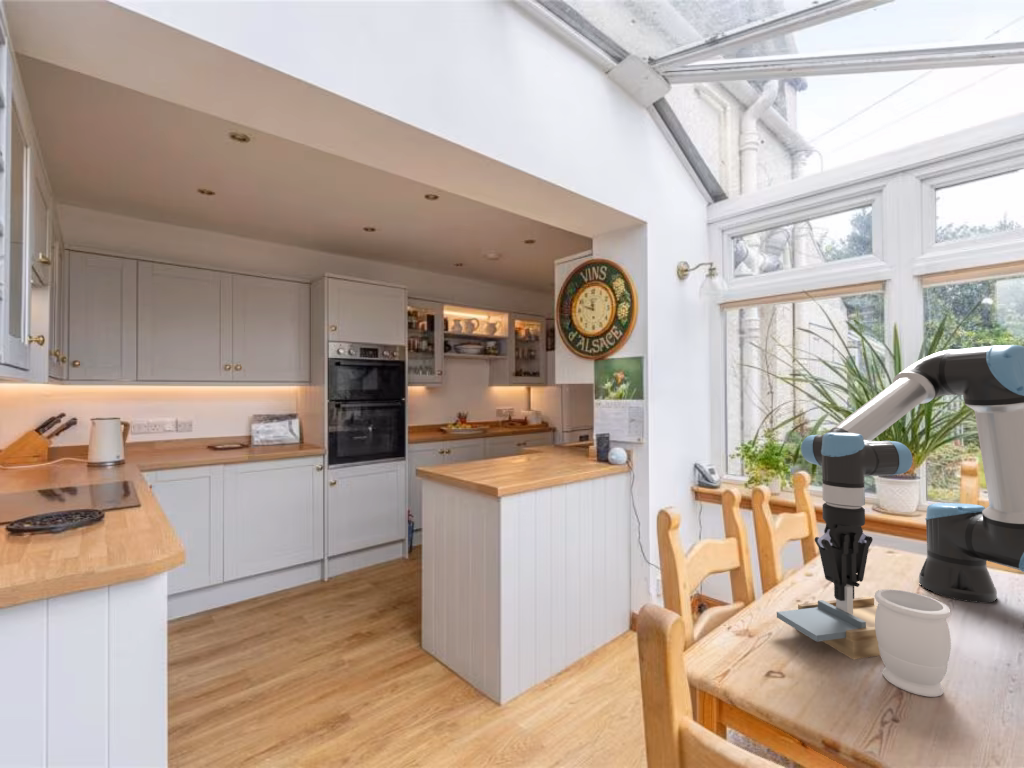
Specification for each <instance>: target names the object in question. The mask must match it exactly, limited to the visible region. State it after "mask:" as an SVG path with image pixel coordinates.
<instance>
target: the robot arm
mask: <svg viewBox="0 0 1024 768" xmlns="http://www.w3.org/2000/svg"><path fill="white" fill-rule="evenodd" d="M950 395H951V396H952V395H953V396H955V395H956V396H963V401H964V405H965V406H967V407H968V408H970V410H971V409H972V410H973V411H974V415H975V422H976V430H977V435H978V436H977V437H978V441H979V446H980V447H979V448H980V454H981V460H982V461H981V462H982V467H983V474H984V479H985V486H986V491H987V497H988V504H989V505H988V506H987V507H985V506H983V505H979V504H974V503H973V504H972V503H955V502H951V503H950V502H944V503H943V502H940V503H939V502H937V503H932V504H929V505H928V506H927V507H926V515H925V518H924V519H925V523H926V525H925V526H926V559H925V561H924V562H923V565H922V567H921V569H920V572H919V575H918V583H920V584H921V585H922V586H923V587H925V588H926V589H925V588H924V589H925V590H927V589H928V590H927V591H929V590H931V591H933V592H932V593H934V592H935V594H936V593H937V595H939V594H940V596H943V597H946V598H950V599H954V598H955V599H954V600H958V599H960V601H964V600H967V601H966V602H970V601H977V602H976V603H980V602H989V603H994V602H996V601H997V600H996V599H998V595H997V594H998V592H997V588H996V587H995V585H994V582H993V579H992V576H991V574H990V572H989V570H988V567H987V562H989V563H993V564H997V565H1000V566H1003V567H1007V568H1011V569H1014V570H1016V571H1017V570H1018V571H1021V572H1023V573H1024V346H1023V345H1019V344H1003V345H1002V344H998V345H997V344H995V345H987V346H976V347H966V348H953V349H952V348H951V349H945V350H941V351H936V352H934V353H932V354H930V355H927V356H925V357H923V358H921V359H919V360H917V361H916V362H914V363H912V364H910V365H909V366H907V367H906V368H904V369H903V370H901V371H900V372H899V373H897V374H896V375H895V376H894V378H893V379H892V383H891V384H890V385H888V386H887V387H885V388H884V389H883V390H882V391H880V392H879V393H877V394H876V395H875V396H874V397H872V398H871V399H870V400H868V401H867V402H865V403H864V404H863V405H861V406H860V407H858V409H856V410H855V411H853V412H852V413H851V414H850V415H848V416H846V417H845V418H844V419H843V420H841V421H840V422H839V423H837V424H836V425H835V426H833V427H832V428H831V429H829V430H828V431H826V433H824V434H822V435H821V434H811V435H808V436H806V437H805V438H804V439H803V441H802V442H801V446H800V453H801V455H802V458H804V460H805V461H806V462H808V463H810V464H813V465H817V466H819V467H821V468H822V471H821V474H822V475H821V476H822V479H821V480H822V501H823V502H824V503H822V519H823V521H824V522H825V528H824V530H823V533H824V534H823V535H821V536H819V537H818V536H815V537H814V543H815V544H816V545H817V547H818V552H819V557H820V559H821V566H822V568H823V569H822V570H823V573H824V577H825V580H826V581H829V582H830V583H833V586H834V587H833V591H834V593H833V596H834V598H835V600H836V607H837V608H839V609H841V610H843V611H845V612H847V613H849V614H851V615H853V599H854V598H855V587H856V588H858V587H860V584H861V583H862V582H863V580H864V578H865V577H864V576H865V572H866V565H867V561H868V554H869V549H870V546H871V544H872V542H873V537H872V536H869V535H867V534H865V533H864V530H863V526H864V525H865V524H866V511H865V508H864V507H865V505H866V495H865V493H866V491H865V477H879V476H880V477H881V476H889V477H892V476H897V475H903V474H905V473H907V472H908V471H909V470H910V469H911V467H912V465H913V454H912V452H911V450H910V449H909V447H907V445H905V444H904V443H902V442H900V441H894V440H892V441H891V440H881V441H880V440H875V438H877V437H878V436H879V435H881V434H882V433H884V432H885V431H886V430H887V429H889V428H890V427H892V425H894V424H895V423H896V422H897V421H899V420H900V419H902V418H903V417H904V416H906V414H907V415H908V413H910V412H911V411H912V410H913V409H915V408H916V407H917V406H919V405H920V404H923V405H924V404H928V403H929V402H931V401H933V400H934V399H936V398H938V397H942V396H950ZM858 582H861V583H858ZM920 584H919V585H920ZM921 585H920V586H921ZM922 586H921V587H922ZM923 587H922V588H923ZM931 591H930V592H931ZM995 600H996V601H995ZM993 601H994V602H993Z"/></svg>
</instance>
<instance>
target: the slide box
mask: <svg viewBox="0 0 1024 768" xmlns="http://www.w3.org/2000/svg"><path fill="white" fill-rule="evenodd" d="M824 601H825V602H827V603H829V604H831V605H833V606H835V607H836V599H834V600H824ZM877 606H878V605H876V604H875V597H873V596H861V597H854V599H853V616H855V617H857V618H859V619H861V620H863V621H865V622H866V628H860V629H852V630H846V638H841V639H833V640H825V641H822V642H823V643H825V644H826V645H828V646H829V647H831V648H833V649H835V650H836V651H838V652H840V653H841V654H843V655H845V657H846V656H847V657H848V658H850V659H851V660H858V659H860V660H861V659H864V658H865V659H866V658H873V657H874V658H875V657H879V656H880V657H881V655H880V652H879V647H878V641H877V637H876V631H875V615H876V609H877ZM815 607H818V601H817V602H816V601H815V602H808V603H800V604H797V610H798V609H807V608H815Z"/></svg>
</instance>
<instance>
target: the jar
mask: <svg viewBox="0 0 1024 768" xmlns="http://www.w3.org/2000/svg"><path fill="white" fill-rule="evenodd" d="M874 600H876V602H878V604H877V605H876V606H877V609H876V615H875V631H876V637H877V641H878V647H879V652H880V655H881V656H880V658H881V661H882V662H883V664H884V666H885V667H884V668H883V670H882V675H883V677H884V678H885V679H886V680H887V681H888V682H889V683H890V684H892V685H893V686H895V687H897V688H899V689H900V690H903V691H906V692H908V693H911V694H914V695H917V696H921V697H927V698H928V697H931V698H934V697H936V698H937V697H940V696H942V695H943V694H944V692H945V691H944V688H943V685H942V684H941V682H942V681H943V680H944V678H945V676H946V674H947V671H948V665H949V661H950V657H951V650H952V645H951V644H952V643H951V641H952V639H951V633H950V628H949V624H948V621H947V618H949V617H950V615H951V612H950V611H951V608H950V607H949V606H948V605H947V604H945V603H944V602H942V601H940V600H937V599H935V598H932V597H931V596H927V595H924V594H921V593H916V592H913V591H908V590H900V589H893V588H892V589H889V588H888V589H886V588H884V589H878V590H876V591H875V592H874Z"/></svg>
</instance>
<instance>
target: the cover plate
mask: <svg viewBox="0 0 1024 768" xmlns="http://www.w3.org/2000/svg"><path fill="white" fill-rule="evenodd" d="M825 601H826V600H823V599H819V600H818V599H817V602H818V607H815V608H807V609H798V608H797V609H790V610H783V611H782V610H781V611H776V618H777V619H778V620H780V621H781V622H784V623H785V624H787V625H788V626H790V627H792V628H794V629H795V630H797V631H798V632H799V633H802V634H804V635H805V636H807V637H808V638H810V639H811V640H813V641H815V642H816V643H818V642H823V641H825V640H833V639H841V638H846V630H852V629H860V628H866V622H865V621H863V620H861V619H859V618H857V617H855V616H853V615H851V614H849V613H847V612H845V611H843V610H841V609H839V608H837V607H835V606H833V605H831V604H829V603H827V602H825Z"/></svg>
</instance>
